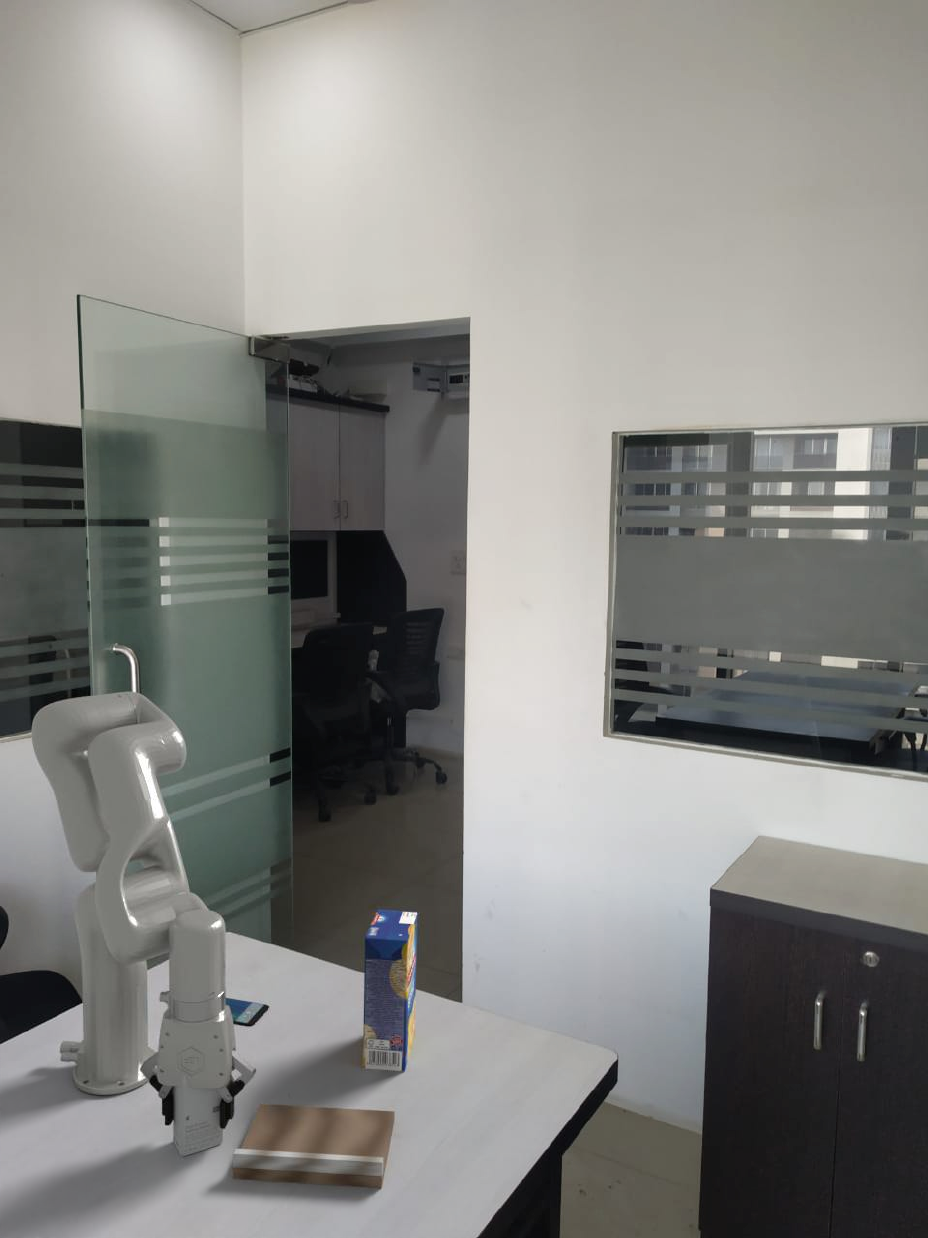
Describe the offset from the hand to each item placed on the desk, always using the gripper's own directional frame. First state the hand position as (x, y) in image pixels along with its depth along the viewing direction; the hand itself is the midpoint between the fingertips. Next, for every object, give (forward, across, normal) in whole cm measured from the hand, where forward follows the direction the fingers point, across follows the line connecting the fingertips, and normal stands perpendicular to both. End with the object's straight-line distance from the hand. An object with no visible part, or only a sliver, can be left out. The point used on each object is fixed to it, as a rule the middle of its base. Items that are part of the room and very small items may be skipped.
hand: (198, 1120), depth 135 cm
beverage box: (+3, +24, +25) cm, 35 cm away
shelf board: (+3, +17, 0) cm, 17 cm away
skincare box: (+3, 0, 0) cm, 3 cm away
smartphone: (+4, -7, +35) cm, 36 cm away
